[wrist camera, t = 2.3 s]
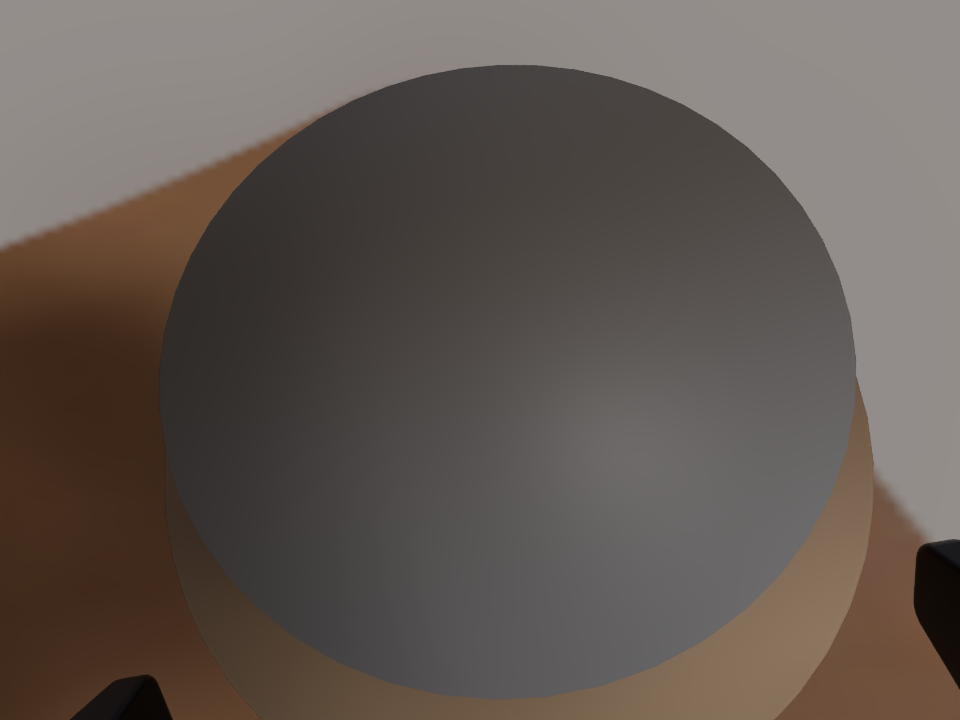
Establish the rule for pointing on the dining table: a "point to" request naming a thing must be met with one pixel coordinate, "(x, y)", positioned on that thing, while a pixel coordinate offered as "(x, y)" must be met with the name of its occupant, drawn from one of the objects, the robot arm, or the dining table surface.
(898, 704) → the dining table surface
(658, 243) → the pepper mill
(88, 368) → the dining table surface
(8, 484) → the dining table surface
